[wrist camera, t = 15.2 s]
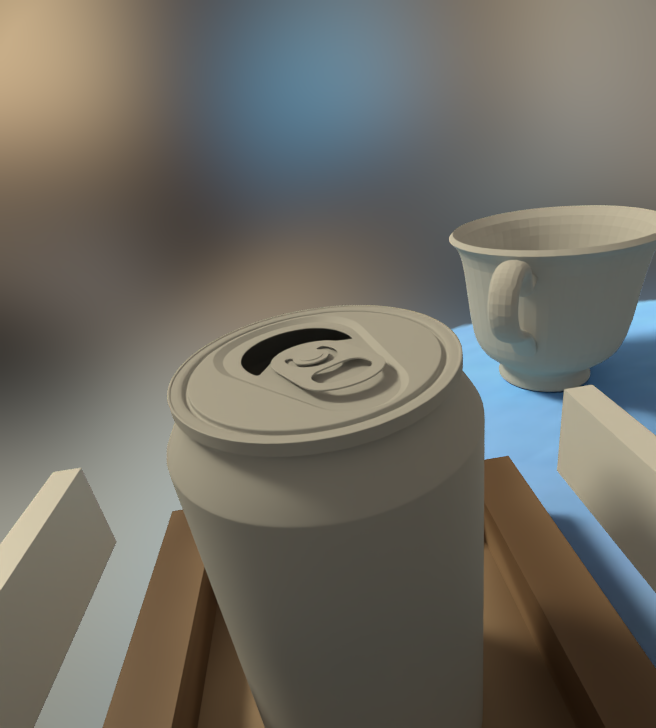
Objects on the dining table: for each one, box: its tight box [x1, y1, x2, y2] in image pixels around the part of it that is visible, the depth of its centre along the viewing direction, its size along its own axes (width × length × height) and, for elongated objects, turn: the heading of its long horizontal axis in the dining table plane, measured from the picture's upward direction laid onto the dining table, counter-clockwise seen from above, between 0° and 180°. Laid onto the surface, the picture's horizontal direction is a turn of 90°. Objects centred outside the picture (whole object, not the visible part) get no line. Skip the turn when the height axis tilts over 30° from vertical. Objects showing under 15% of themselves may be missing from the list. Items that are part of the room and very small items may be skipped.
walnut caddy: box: [103, 456, 656, 728], centre depth 14 cm, size 15×15×3 cm
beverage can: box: [167, 305, 485, 728], centre depth 12 cm, size 6×6×12 cm
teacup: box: [449, 205, 656, 392], centre depth 29 cm, size 12×15×10 cm
